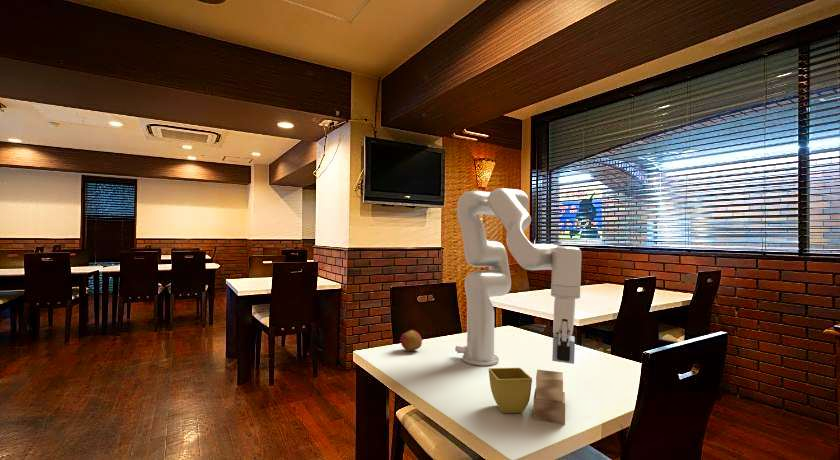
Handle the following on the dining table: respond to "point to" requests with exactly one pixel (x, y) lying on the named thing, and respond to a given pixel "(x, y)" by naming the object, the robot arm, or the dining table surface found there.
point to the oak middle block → (549, 385)
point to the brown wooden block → (549, 410)
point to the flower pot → (510, 388)
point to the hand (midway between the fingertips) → (563, 356)
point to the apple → (411, 340)
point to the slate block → (555, 343)
